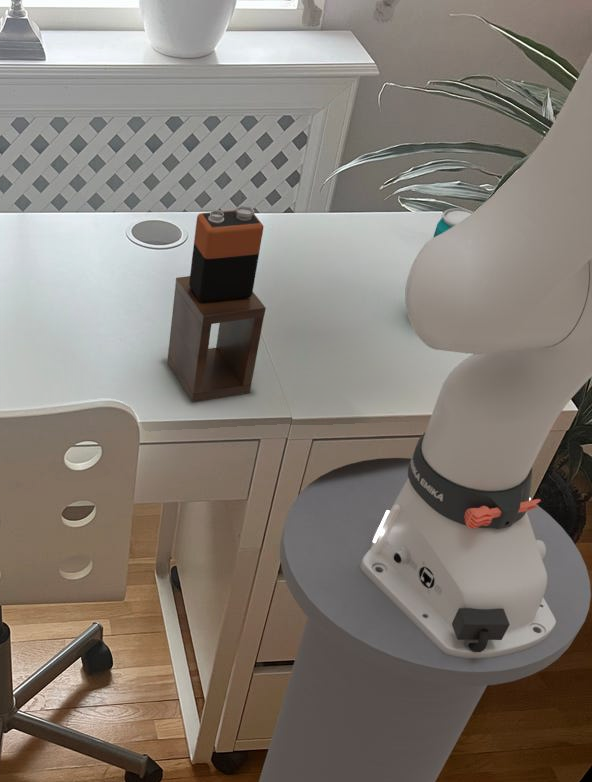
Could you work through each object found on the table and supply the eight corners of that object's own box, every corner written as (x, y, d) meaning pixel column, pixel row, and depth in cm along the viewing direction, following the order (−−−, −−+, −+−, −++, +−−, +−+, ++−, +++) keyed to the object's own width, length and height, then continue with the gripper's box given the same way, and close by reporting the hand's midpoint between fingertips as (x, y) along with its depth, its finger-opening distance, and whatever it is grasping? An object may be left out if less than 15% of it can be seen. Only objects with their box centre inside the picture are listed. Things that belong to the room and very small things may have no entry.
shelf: (250, 392, 127) (265, 307, 118) (192, 402, 125) (203, 316, 116) (222, 353, 133) (235, 269, 124) (166, 362, 131) (176, 277, 122)
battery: (252, 299, 119) (266, 217, 112) (199, 304, 118) (209, 222, 110) (239, 280, 122) (252, 199, 115) (187, 285, 121) (197, 204, 113)
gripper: (301, -113, 101) (277, 38, 112) (473, -117, 106) (435, 27, 117) (275, -129, 105) (254, 18, 116) (443, -133, 110) (408, 9, 121)
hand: (346, 23), depth 116 cm, fingers open, 8 cm apart
